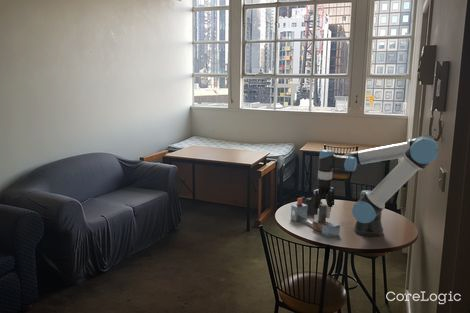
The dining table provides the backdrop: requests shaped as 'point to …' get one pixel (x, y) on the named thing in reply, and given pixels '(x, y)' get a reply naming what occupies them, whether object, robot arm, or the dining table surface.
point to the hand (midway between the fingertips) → (321, 218)
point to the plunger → (299, 202)
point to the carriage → (320, 218)
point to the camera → (309, 205)
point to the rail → (301, 215)
